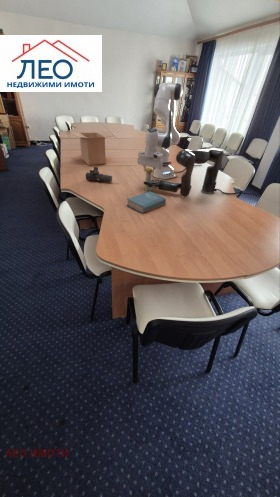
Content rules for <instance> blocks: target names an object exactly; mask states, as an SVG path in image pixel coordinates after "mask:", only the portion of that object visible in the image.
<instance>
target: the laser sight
mask: <svg viewBox="0 0 280 497" xmlns="http://www.w3.org/2000/svg"><path fill="white" fill-rule="evenodd" d="M85 179H86V180H87V181H90V182H91V181H92V182H99V183H110V184H111V183H112V181H113V175H108V174H104V173H100V171H99V167H97V166H93V170H92V169H89V172H88V171H87V172H86V173H85Z"/></svg>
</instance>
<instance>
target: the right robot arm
mask: <svg viewBox="0 0 280 497" xmlns="http://www.w3.org/2000/svg"><path fill="white" fill-rule="evenodd" d="M224 155H225V152H224V151H223V150H221V149H217V148H209V149H192V150H191V149H181V150H179V151H178V152H177V154H176V156H175V161H176V162H177V164H179V165H180V166H182V167H183V168H184V169H185V168H186V169H185V170H184V171H183V172H182V174H181V177H180V182H172V181H169V180H165V179H160V180H159V179H151V182H146V180H145V181H143V185H148V187H150V189H155V188H158V190H159V191H165V192H170V193H177V192H179V193H180V195H181V197H183V198H187V197H188V196H189V195H190V193H191V190H192V184H191V183H192V176H193V171H194V167H195V166H194V165H203V164H207V163H208V162H211V163H214V164H213V165H208V166H207V167H206V171H205V175H204V179H203V182H202V186H201V192H202V193H203V194H207V195H212V194H214V193H215V192H217V191H219V192H220V193H222V194H225V195H236V194H242V195H253V196H255V197H258V195H257V193H254V192H243V191H236V192H224V191H222V190H221V189H220V188H217V187H216V186H217V178H218V174H219V171H220V169H221V165H222V162H223V160H224ZM150 183H151V184H150Z"/></svg>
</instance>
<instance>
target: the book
mask: <svg viewBox="0 0 280 497" xmlns="http://www.w3.org/2000/svg"><path fill="white" fill-rule="evenodd" d="M126 200H127V204H126V206H127V207H129V208H131V209H133V210H135V211H137V212H139V213H140V214H144V213H147V212H149V211H151V210H154V209H156V208H159V207H162V206H164V205H166V202H167V198H166V197H164V196H161V195H159V194H158V193H155V192H153V191H151V190H150V191H145V192H144V193H140V194H137V195H134V196H131V197H128V198H127V199H126Z"/></svg>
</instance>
